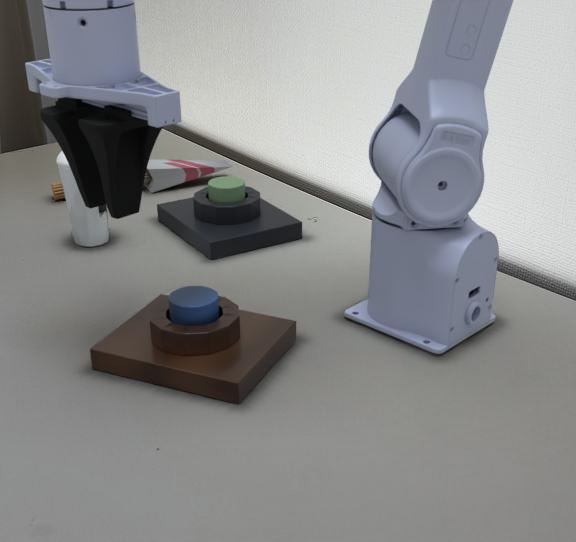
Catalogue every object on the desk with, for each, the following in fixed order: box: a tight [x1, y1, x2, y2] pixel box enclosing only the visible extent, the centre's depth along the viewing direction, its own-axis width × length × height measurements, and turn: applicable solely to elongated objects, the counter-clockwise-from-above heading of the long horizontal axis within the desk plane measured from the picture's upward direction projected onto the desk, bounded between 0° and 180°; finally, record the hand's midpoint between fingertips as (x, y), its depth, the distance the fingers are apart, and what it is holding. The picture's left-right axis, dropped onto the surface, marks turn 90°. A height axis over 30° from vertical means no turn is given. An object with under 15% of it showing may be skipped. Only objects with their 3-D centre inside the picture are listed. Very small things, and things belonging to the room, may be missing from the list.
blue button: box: [168, 285, 219, 326], centre depth 63 cm, size 4×4×2 cm
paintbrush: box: [50, 159, 233, 201], centre depth 97 cm, size 4×3×20 cm
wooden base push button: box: [89, 293, 297, 405], centre depth 64 cm, size 12×10×4 cm
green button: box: [207, 175, 246, 203], centre depth 85 cm, size 4×4×2 cm
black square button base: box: [156, 185, 303, 260], centre depth 86 cm, size 12×10×4 cm
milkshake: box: [56, 150, 110, 248], centre depth 82 cm, size 4×5×10 cm
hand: (112, 209), depth 62 cm, fingers closed
